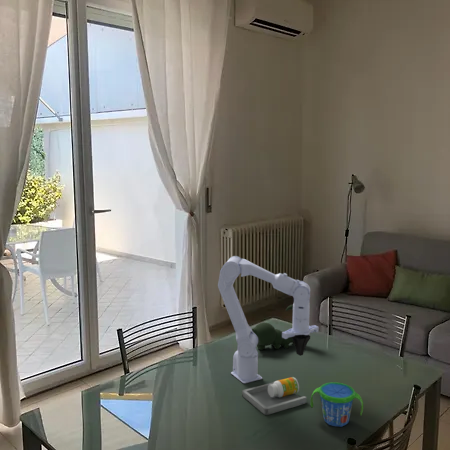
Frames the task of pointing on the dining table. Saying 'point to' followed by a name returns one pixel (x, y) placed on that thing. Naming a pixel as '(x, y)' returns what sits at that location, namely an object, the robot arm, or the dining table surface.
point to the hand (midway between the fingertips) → (299, 354)
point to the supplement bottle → (283, 387)
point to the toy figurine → (271, 335)
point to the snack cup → (336, 402)
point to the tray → (270, 400)
